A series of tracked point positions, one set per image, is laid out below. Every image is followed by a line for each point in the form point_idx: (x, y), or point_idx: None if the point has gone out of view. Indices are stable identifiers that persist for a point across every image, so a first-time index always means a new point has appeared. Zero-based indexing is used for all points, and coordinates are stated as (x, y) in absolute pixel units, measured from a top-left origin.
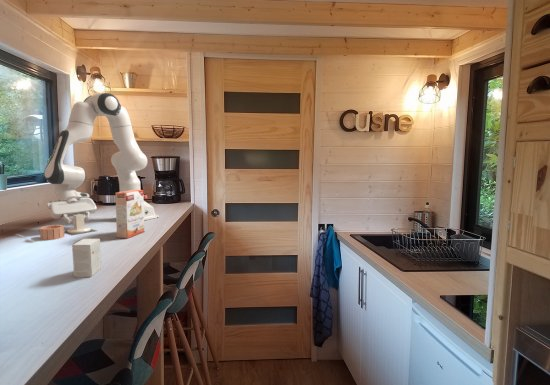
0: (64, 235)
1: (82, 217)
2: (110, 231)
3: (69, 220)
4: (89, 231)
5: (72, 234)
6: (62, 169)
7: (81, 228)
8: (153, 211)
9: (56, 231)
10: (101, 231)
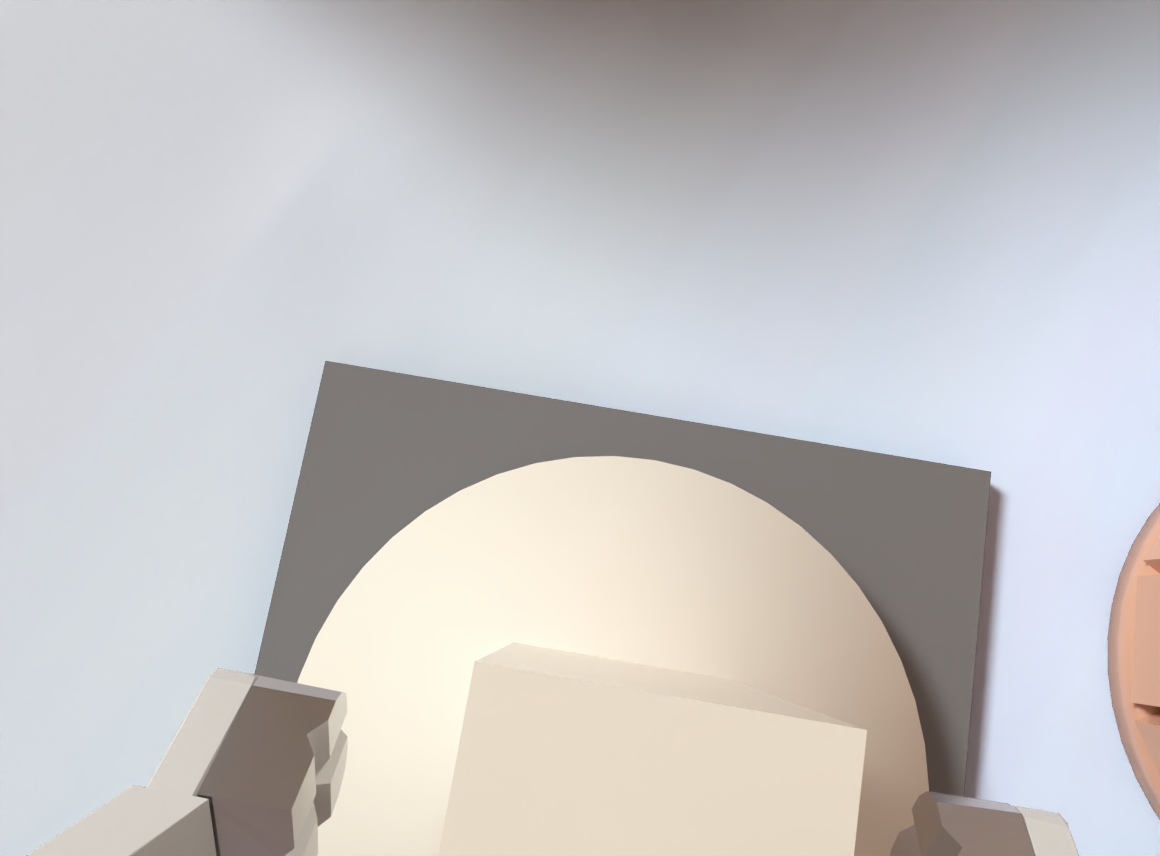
0: (1152, 548)
1: (553, 669)
2: (150, 152)
3: (1054, 853)
4: None
5: (925, 554)
6: None
7: (607, 656)
8: None
9: None
10: (251, 340)
